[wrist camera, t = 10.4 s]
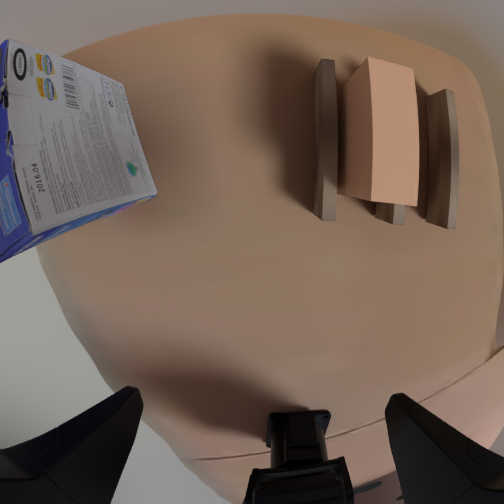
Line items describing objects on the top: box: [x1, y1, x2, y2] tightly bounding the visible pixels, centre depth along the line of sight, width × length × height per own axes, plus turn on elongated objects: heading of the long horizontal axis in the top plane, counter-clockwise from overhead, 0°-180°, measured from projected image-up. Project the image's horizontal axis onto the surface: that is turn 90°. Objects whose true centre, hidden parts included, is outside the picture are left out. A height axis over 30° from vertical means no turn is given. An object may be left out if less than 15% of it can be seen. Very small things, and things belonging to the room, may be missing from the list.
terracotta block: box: [337, 57, 419, 206], centre depth 13 cm, size 7×2×7 cm, turn 179°
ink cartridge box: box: [0, 39, 157, 263], centre depth 10 cm, size 10×6×14 cm, turn 19°
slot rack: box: [313, 59, 459, 230], centre depth 15 cm, size 10×10×3 cm
